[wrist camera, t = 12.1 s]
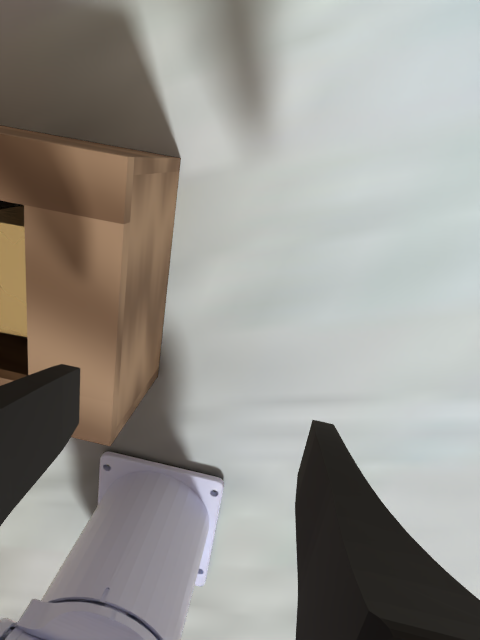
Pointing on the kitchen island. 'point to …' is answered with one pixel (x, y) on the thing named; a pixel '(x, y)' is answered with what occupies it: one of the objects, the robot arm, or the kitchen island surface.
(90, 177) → the brown square open block
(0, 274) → the wooden block
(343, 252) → the kitchen island surface
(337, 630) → the robot arm
